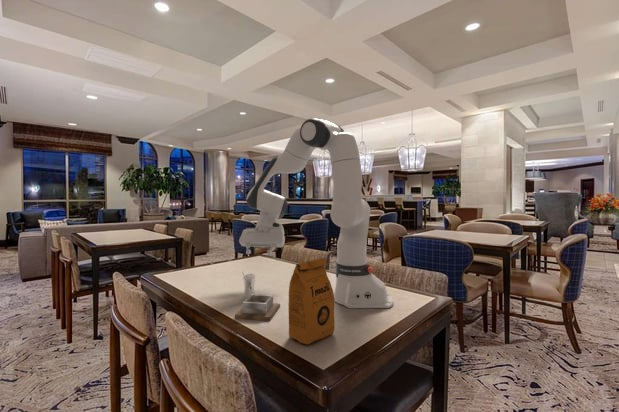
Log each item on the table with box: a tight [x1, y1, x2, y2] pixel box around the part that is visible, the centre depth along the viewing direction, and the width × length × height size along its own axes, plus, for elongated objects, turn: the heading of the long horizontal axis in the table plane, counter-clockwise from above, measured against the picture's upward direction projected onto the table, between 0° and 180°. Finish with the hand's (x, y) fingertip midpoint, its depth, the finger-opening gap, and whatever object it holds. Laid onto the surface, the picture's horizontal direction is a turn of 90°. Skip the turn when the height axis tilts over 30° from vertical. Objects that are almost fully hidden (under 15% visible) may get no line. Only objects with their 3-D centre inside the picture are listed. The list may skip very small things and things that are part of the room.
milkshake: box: [241, 270, 256, 299], centre depth 119 cm, size 4×5×10 cm
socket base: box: [234, 293, 281, 322], centre depth 104 cm, size 12×12×5 cm
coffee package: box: [288, 257, 336, 345], centre depth 86 cm, size 10×12×22 cm
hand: (258, 253), depth 130 cm, fingers open, 8 cm apart
